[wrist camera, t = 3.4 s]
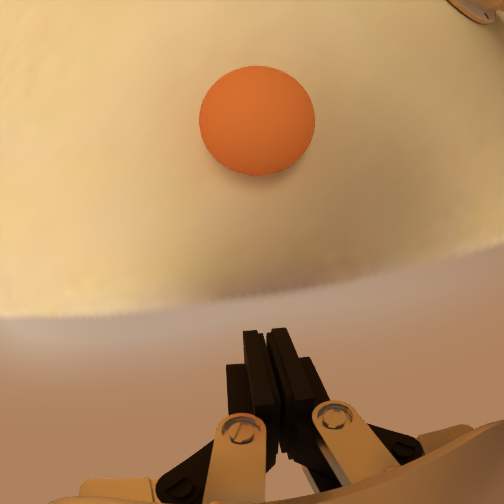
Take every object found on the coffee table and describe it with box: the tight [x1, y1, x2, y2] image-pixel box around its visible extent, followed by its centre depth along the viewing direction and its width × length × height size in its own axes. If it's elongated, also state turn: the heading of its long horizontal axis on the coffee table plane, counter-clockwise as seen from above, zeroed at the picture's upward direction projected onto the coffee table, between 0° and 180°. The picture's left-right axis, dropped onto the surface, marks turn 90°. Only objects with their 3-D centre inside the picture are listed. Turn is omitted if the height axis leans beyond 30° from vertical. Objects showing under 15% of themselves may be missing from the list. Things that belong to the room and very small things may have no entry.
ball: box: [199, 66, 315, 175], centre depth 12 cm, size 6×6×6 cm
